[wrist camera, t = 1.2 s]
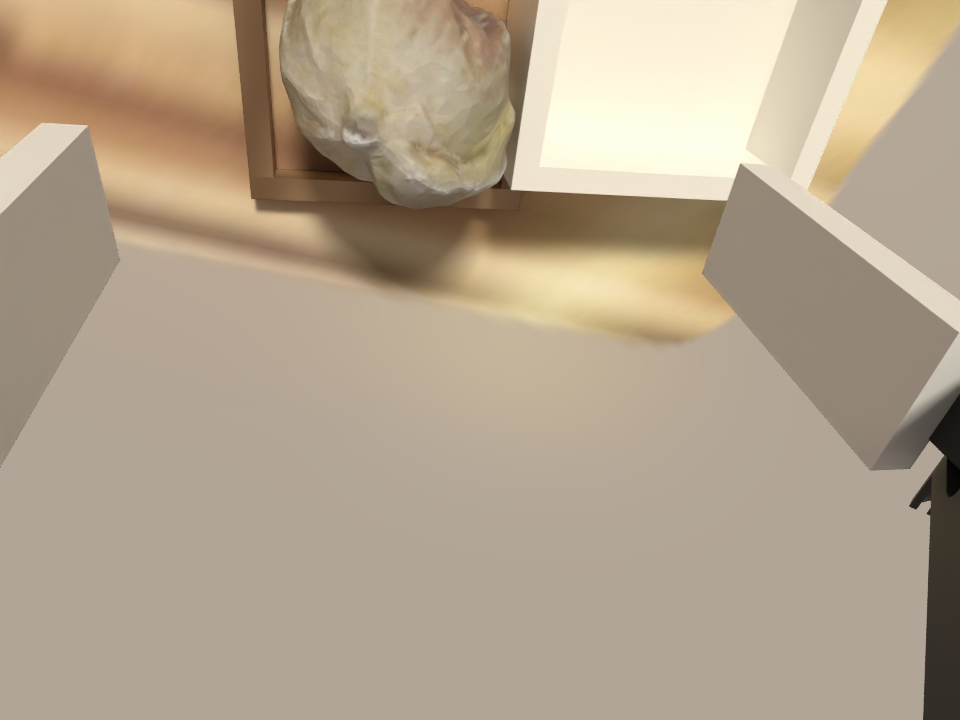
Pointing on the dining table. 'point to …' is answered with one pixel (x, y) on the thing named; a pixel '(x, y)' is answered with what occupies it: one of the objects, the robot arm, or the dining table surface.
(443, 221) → the dining table surface
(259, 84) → the frame
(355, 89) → the garlic bulb
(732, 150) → the open box
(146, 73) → the dining table surface
